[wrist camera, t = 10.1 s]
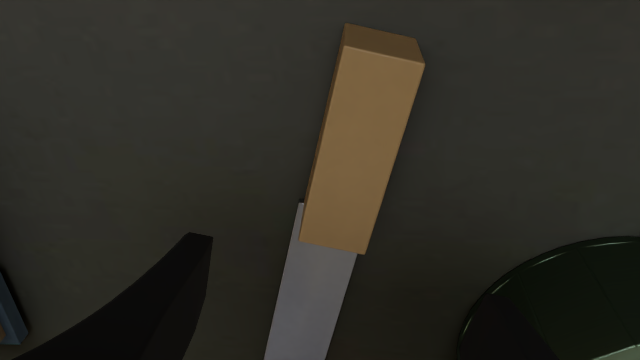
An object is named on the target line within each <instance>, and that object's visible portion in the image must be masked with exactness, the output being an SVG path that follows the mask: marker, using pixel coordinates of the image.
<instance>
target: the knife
mask: <svg viewBox="0 0 640 360" xmlns="http://www.w3.org/2000/svg"><path fill="white" fill-rule="evenodd" d="M424 68H425V62H424V59H423V57H422V54H421V52H420V49H419V46H418V44H417V41H416V39H415V38H411V37H406V36H402V35H398V34H393V33H389V32H384V31H380V30H376V29H371V28H367V27H362V26H358V25H354V24H349V23H345V25H344V30H343V34H342V38H341V43H340V47H339V52H338V56H337V60H336V65H335V69H334V73H333V78H332V82H331V86H330V91H329V95H328V100H327V104H326V108H325V113H324V117H323V121H322V126H321V130H320V134H319V139H318V143H317V147H316V152H315V156H314V161H313V165H312V169H311V174H310V178H309V182H308V187H307V191H306V195H305V200H303V199H299V203H298V208H297V212H296V217H295V221H294V226H293V230H292V234H291V239H290V243H289V248H288V252H287V257H286V261H285V266H284V270H283V275H282V279H281V284H280V288H279V293H278V297H277V302H276V306H275V311H274V315H273V320H272V324H271V329H270V333H269V337H268V342H267V346H266V351H265V355H264V360H325V357H326V354H327V351H328V348H329V345H330V341H331V338H332V335H333V332H334V328H335V325H336V322H337V319H338V315H339V312H340V309H341V306H342V302H343V299H344V296H345V293H346V290H347V286H348V283H349V280H350V277H351V273H352V270H353V267H354V264H355V260H356V257H357V254H363V255H364V254H365V253H366V250H367V247H368V244H369V241H370V237H371V234H372V231H373V228H374V225H375V222H376V219H377V215H378V212H379V209H380V206H381V203H382V200H383V197H384V194H385V190H386V187H387V184H388V181H389V178H390V175H391V172H392V168H393V165H394V162H395V159H396V156H397V153H398V150H399V146H400V143H401V140H402V137H403V134H404V131H405V128H406V124H407V121H408V118H409V115H410V112H411V109H412V106H413V102H414V99H415V96H416V93H417V90H418V87H419V84H420V81H421V77H422V74H423V71H424Z"/></svg>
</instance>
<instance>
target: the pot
mask: <svg viewBox="0 0 640 360" xmlns="http://www.w3.org/2000/svg"><path fill="white" fill-rule="evenodd" d="M485 293H489V294H494V295H499V296H504V297H508V298H509V299H510V300H511V301H512V302H513V303H514V304H515V306H516V307H517V308H518V309H519V310H520V312H521V313H522V314H523V315H524V317H525V318H526V319H527V320H528V321H529V323H530V324H531V325H532V326H533V328H534V329H535V330H536V331H537V333H538V334H539V335H540V336H541V338H542V339H543V340H544V341H545V343H546V344H547V345H548V346H549V347H550V349H551V350H552V351H553V352H554V353H555V355H556V356H557V357H558V358H559V359H560V360H640V237H611V238H601V239H595V240H589V241H583V242H579V243H575V244H571V245H568V246H564V247H561V248H558V249H555V250H553V251H550V252H547V253H544V254H542V255H540V256H538V257H536V258H534V259H532V260H530V261H527V262H525V263H524V264H522V265H520V266H519V267H517V268H515V269H514V270H512V271H511V272H509V273H508V274H506V275H505V276H504V277H502V278H501V279H500V280H498V281H497V282H496V283H495V284H493V285H492V286H491V287H490V288H489V289H488V290H487V291H486V292H485ZM485 293H484V294H483V295H482V296H481V298H480V299H479V300H478V301H477V303H476V304H475V305H474V306H473V308H472V309H471V311H470V313H469V314H468V316H467V318H466V320H465V321H464V324H463V327H462V329H461V332H460V335H459V340H458V345H457V360H460V352H459V346H460V344H461V342H462V340H463V338H464V336H465V334H466V332H467V330H468V328H469V326H470V324H471V322H472V320H473V318H474V316H475V314H476V312H477V309H478V307H479V305H480V303H481V301H482V299H483V297H484V295H485Z"/></svg>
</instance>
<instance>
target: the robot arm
mask: <svg viewBox="0 0 640 360" xmlns="http://www.w3.org/2000/svg"><path fill="white" fill-rule="evenodd" d="M212 243H213V237H211V236H206V235H201V234H196V233H191V232H189V233H187V234H186V235H184V236H183V237H182V239H181V240H180V241H179V242H178V243H177V244H176V245H175V246H174V247H173V248H172V249H171V250H170V251H169V252H168V253H167V254H166V255H165V256H164V257H163V258H162V259H161V260H160V261H158V262H157V263H156V264H155V265H154V266H153V267H152V268H151V269H149V270H148V271H147V272H146V273H145V274H144V275H143V276H142V277H140V278H139V279H138V280H137V281H136V282H134V283H133V284H132V285H131V286H129V287H128V288H127V289H126V290H124V291H123V292H122V293H120V294H119V295H118V296H117V297H115V298H114V299H113V300H112V301H110V302H109V303H107V304H106V305H105V306H103V307H102V308H100V309H99V310H98V311H96V312H95V313H93V314H92V315H90V316H89V317H87V318H86V319H84V320H82V321H81V322H79V323H78V324H76V325H75V326H73V327H71V328H70V329H68V330H66V331H65V332H63V333H61V334H59V335H58V336H56V337H54V338H53V339H51V340H49V341H47V342H46V343H44V344H42V345H40V346H38V347H36V348H34V349H32V350H30V351H28V352H26V353H24V354H22V355H20V356H18V357H16V358H14V359H12V360H182V359H183V357H184V355H185V352H186V350H187V348H188V346H189V343H190V341H191V339H192V336H193V334H194V332H195V329H196V325H197V322H198V319H199V316H200V313H201V309H202V306H203V303H204V300H205V296H206V289H207V281H208V273H209V266H210V258H211V250H212ZM459 352H460V360H560V359H559V358H558V357H557V356H556V355H555V353H554V352H553V351H552V350H551V349H550V347H549V346H548V345H547V344H546V343H545V341H544V340H543V339H542V338H541V336H540V335H539V334H538V333H537V331H536V330H535V329H534V328H533V326H532V325H531V324H530V323H529V321H528V320H527V319H526V318H525V317H524V315H523V314H522V313H521V312H520V310H519V309H518V308H517V307H516V306H515V304H514V303H513V302H512V301H511V300H510V299H509V298H508V297H504V296H499V295H494V294H489V293H485V295H484V297H483V299H482V301H481V303H480V305H479V307H478V309H477V312H476V314H475V316H474V318H473V320H472V322H471V324H470V326H469V328H468V330H467V332H466V334H465V336H464V338H463V340H462V342H461V344H460V346H459Z"/></svg>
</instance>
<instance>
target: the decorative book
mask: <svg viewBox="0 0 640 360" xmlns="http://www.w3.org/2000/svg"><path fill="white" fill-rule="evenodd" d="M27 334H28V331H27V329H26V326H25V324H24V322H23V320H22V318H21V316H20V313H19V311H18V309H17V307H16V305H15V302H14V300H13V298H12V296H11V294H10V292H9V289H8V287H7V285H6V283H5V281H4V279H3V276H2V274H1V272H0V344H19V345H20V344H21V343H22V341H23V340H24V338H25V337H26V336H27Z"/></svg>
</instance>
